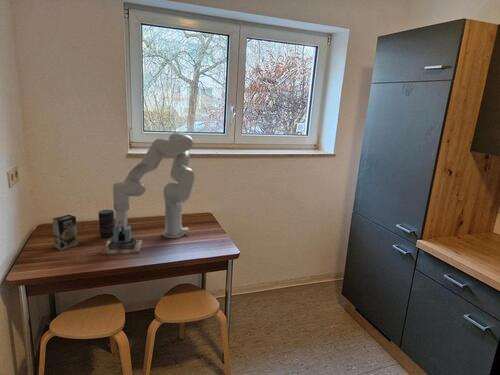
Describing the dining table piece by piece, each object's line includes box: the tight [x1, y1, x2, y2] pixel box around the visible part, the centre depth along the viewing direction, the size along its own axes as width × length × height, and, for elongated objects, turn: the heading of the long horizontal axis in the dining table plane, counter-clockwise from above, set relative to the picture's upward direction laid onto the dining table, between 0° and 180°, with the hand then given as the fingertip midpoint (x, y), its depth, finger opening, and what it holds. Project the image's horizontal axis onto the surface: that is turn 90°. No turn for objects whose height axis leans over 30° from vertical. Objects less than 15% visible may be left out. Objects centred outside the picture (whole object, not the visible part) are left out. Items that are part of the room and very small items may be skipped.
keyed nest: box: [102, 237, 143, 255], centre depth 177 cm, size 18×14×4 cm
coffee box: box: [52, 214, 79, 251], centre depth 173 cm, size 9×6×16 cm
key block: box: [113, 225, 132, 242], centre depth 175 cm, size 5×8×7 cm, turn 102°
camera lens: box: [98, 209, 115, 239], centre depth 188 cm, size 8×8×15 cm
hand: (122, 238), depth 176 cm, fingers closed on key block, 5 cm apart
